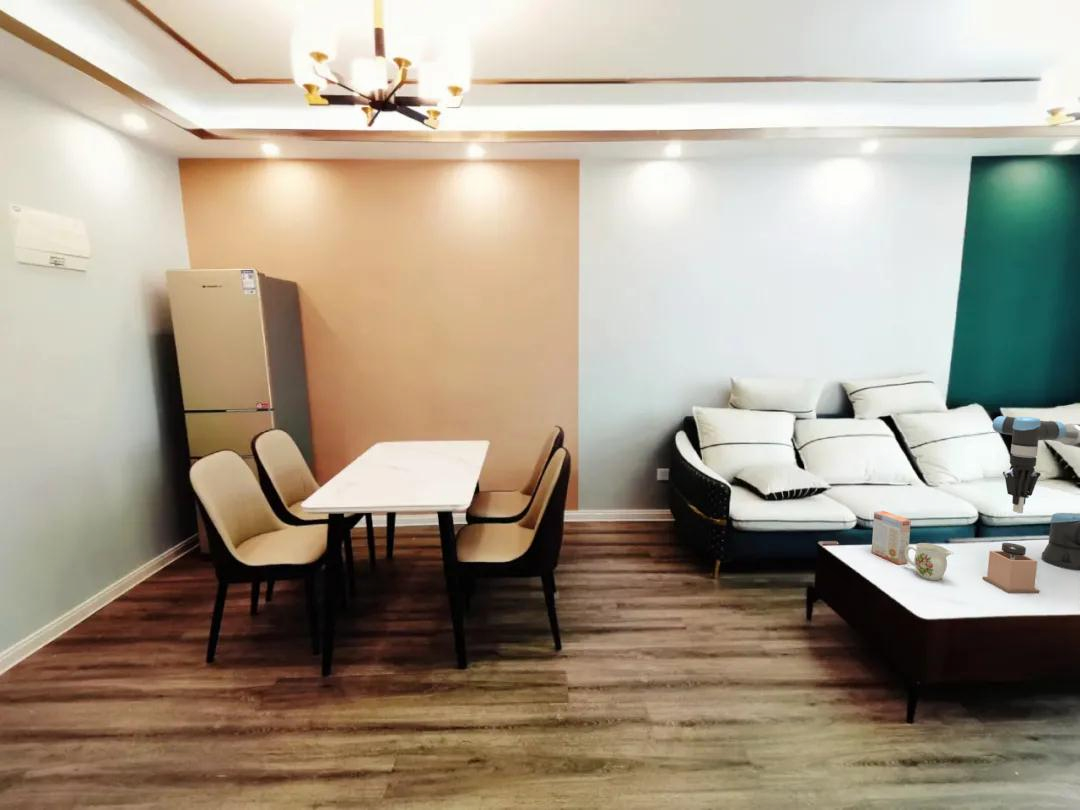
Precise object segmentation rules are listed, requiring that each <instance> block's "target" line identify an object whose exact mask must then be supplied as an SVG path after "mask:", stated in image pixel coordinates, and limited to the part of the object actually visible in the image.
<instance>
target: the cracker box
mask: <svg viewBox="0 0 1080 810" xmlns="http://www.w3.org/2000/svg"><path fill="white" fill-rule="evenodd" d="M911 524H912V523H911V519H908V518H905V517H902V516H899V515H896V514H894V513H890V512H888V511H885V510H877V511H874V513H873V527H872V537H871V538H872V539H871V540H872V543H871V553H872V554H873V553H874V555H876V556H878V557H880V558H883V559H885V560H887V561H889V562H892V563H893V564H896V565H904V564H908V563H909V562H908V561H907V559H906V558H905V549H906V548H907V547H908V546H910V535H911V534H910V533H911Z"/></svg>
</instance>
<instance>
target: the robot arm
mask: <svg viewBox="0 0 1080 810" xmlns="http://www.w3.org/2000/svg"><path fill="white" fill-rule="evenodd" d="M992 429H993V431H995V432H996V433H997V434H998V433H1000V434H1003V435H1010V436H1011V437H1012V438H1011V439H1012V440H1011V445H1010V446H1011V447H1010V455H1009V464H1010V467H1009V470H1007V471H1003V472H1002V475H1003V477H1004V479H1005V486H1006V492H1007V495H1010V496H1012V501H1011V503H1012V504H1013V506H1012V512H1014V513H1016V514H1024V507H1025V504H1026V499H1029V497H1031V496H1032V495H1033V493H1034V490H1035V487H1036V484H1037V482H1038V479H1039V478H1040V477H1041V474H1042V473H1040V472H1037V471H1036V469H1035V467H1036V465H1037V456H1038V449H1039V447H1038V446H1039V441H1052V442H1058V443H1059V442H1060V443H1061V444H1063V445H1067V446H1071V447H1074V448H1079V449H1080V423H1066V424H1064V423H1062V422H1061V421H1058V420H1056V421H1055V420H1048V421H1047V420H1041V419H1040V418H1038V417H1032V416H1015V417H1014V416H1004V415H1000V416H997V417H996V418H994V419H993V421H992ZM1049 523H1050V527H1049V536H1048V544H1047V545H1046V547H1045V548H1044V550H1043V551H1042V552H1041V560H1042V561H1044V562H1045V563H1047V564H1049V565H1053V566H1056V567H1059V568H1064V569H1068V570H1072V569H1073V570H1074V571H1080V514H1079V513H1073V512H1072V513H1071V512H1056V513H1053V514H1052V516H1051V519H1050V521H1049ZM1073 570H1072V571H1073Z"/></svg>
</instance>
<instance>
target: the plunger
mask: <svg viewBox="0 0 1080 810" xmlns="http://www.w3.org/2000/svg"><path fill="white" fill-rule="evenodd" d="M1026 550H1027V548H1026V547H1025V546H1023V545H1020V544H1017V543H1013V542H1002V543H1001V551H1004V552H1006V553H1010V554H1011V556H1010V560H1015V555H1025V556H1026Z"/></svg>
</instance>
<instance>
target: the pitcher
mask: <svg viewBox="0 0 1080 810" xmlns="http://www.w3.org/2000/svg"><path fill="white" fill-rule="evenodd" d="M910 550H913V551H914V552H915V553H914V557H913V558H914V559H913V560H914V561H912V560H911V558H910V557H909V551H910ZM954 554H955V552H954V551H951V550H948V548H946V547H944V546H941V545H938V544H933V543H929V542H919V543H917V544H916V547H915V546H914V545H909V546H908V547H907V548H906V549H905V558H906V559H907V561H908V563H909V564H910V565H911V566H913V567H914V568H915V570H916V573H918V575H919V577H921V578H923V579H926V580H929V581H939V580H940V579H942V577H943V576H944V575H945V573H946V570H947V567H948V561H947V557H948V556H949V555H954Z"/></svg>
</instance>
